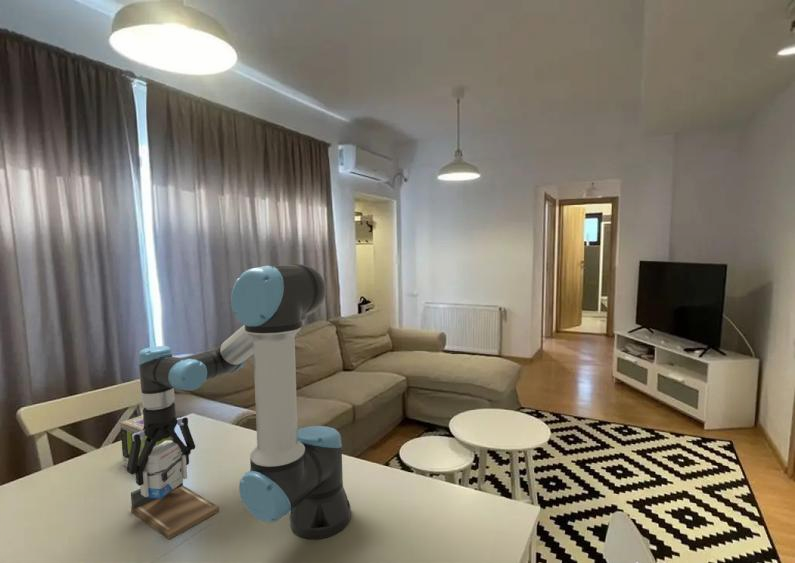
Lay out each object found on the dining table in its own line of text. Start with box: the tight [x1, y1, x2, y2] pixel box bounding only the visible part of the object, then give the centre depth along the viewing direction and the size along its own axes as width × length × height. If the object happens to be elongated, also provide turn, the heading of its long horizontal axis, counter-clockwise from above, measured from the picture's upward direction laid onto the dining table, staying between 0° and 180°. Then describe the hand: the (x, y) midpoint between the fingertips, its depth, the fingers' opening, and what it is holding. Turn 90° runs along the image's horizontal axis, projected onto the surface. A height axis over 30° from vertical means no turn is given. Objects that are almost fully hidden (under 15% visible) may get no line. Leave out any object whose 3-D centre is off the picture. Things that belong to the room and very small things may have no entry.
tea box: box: [120, 414, 176, 468], centre depth 135 cm, size 15×10×15 cm, turn 58°
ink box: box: [144, 441, 184, 499], centre depth 112 cm, size 8×5×12 cm, turn 168°
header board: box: [130, 481, 220, 540], centre depth 110 cm, size 20×13×9 cm, turn 55°
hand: (164, 485), depth 113 cm, fingers closed on ink box, 9 cm apart
